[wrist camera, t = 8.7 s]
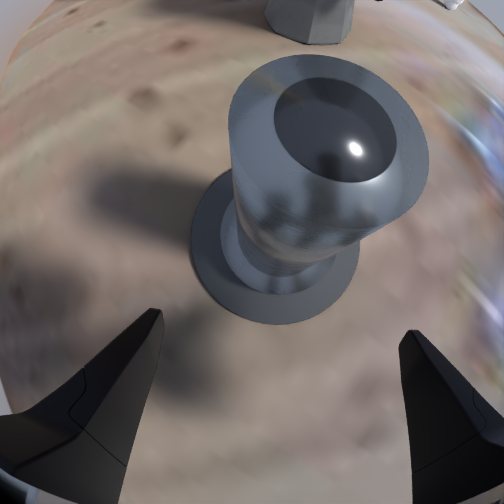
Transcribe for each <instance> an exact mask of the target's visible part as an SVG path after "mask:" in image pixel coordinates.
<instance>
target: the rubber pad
mask: <svg viewBox="0 0 504 504" xmlns="http://www.w3.org/2000/svg"><path fill="white" fill-rule="evenodd" d="M233 199H234V189H233V178H232V170H230V171H228V172H227V173H225V174H224V175H223V176H221V177H220V178H219V179H218V180H217V181H216V182H215V183H213V185H212V186H211V187H210V188H209V189H208V191H207V192H206V193H205V195H204V196H203V198H202V200H201V201H200V203H199V206H198V208H197V210H196V213H195V216H194V220H193V224H192V231H191V248H192V255H193V259H194V263H195V267H196V269H197V271H198V274H199V276H200V278H201V280H202V281H203V283H204V285H205V287H206V288H207V289H208V290H209V292H210V293H211V294H212V295H213V297H214V298H215V299H216V300H218V301H219V302H220V303H221V304H222V305H223V306H224V307H226V308H227V309H229V310H230V311H231V312H233V313H235V314H237V315H239V316H241V317H243V318H246V319H248V320H251V321H254V322H259V323H263V324H273V325H282V324H291V323H297V322H301V321H304V320H307V319H309V318H312V317H314V316H316V315H318V314H320V313H321V312H323V311H324V310H326V309H327V308H328V307H330V306H331V305H332V304H333V303H334V302H335V301H336V300H337V299H338V298H339V297H340V296H341V295H342V293H343V292H344V291H345V290H346V288H347V286H348V285H349V283H350V281H351V279H352V277H353V275H354V273H355V270H356V266H357V263H358V258H359V252H360V240H359V241H357V242H356V243H354V244H352V245H350V246H348V247H347V248H345V249H343V250H341V251H339V252H338V253H337V254H336V258H335V260H334V262H333V264H332V266H331V268H330V269H329V271H328V272H327V273H326V275H325V276H324V277H323V278H322V279H321V280H320V281H319V282H317V283H316V284H315V285H313V286H312V287H310V288H308V289H306V290H304V291H301V292H298V293H293V294H288V295H268V294H264V293H261V292H258V291H255V290H253V289H252V288H250V287H248V286H247V285H245V284H244V283H242V282H241V281H240V280H239V279H238V278H237V277H236V276H235V274H234V273H233V272H232V270H231V269H230V267H229V265H228V263H227V261H226V259H225V256H224V254H223V250H222V246H221V240H220V230H221V223H222V219H223V216H224V214H225V211H226V209H227V207H228V206H229V204H230V202H231V201H232V200H233Z"/></svg>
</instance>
